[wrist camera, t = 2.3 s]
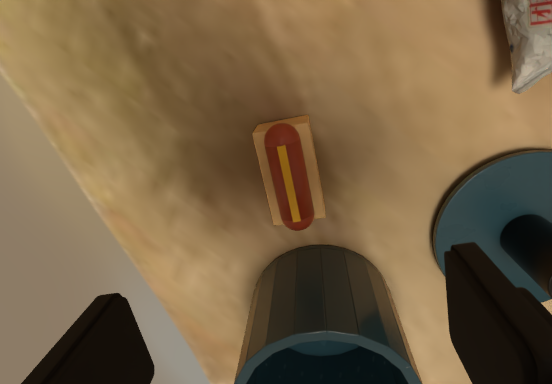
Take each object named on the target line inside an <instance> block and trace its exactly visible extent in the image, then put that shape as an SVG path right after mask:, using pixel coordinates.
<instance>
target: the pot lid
mask: <svg viewBox="0 0 552 384" xmlns="http://www.w3.org/2000/svg"><path fill="white" fill-rule="evenodd" d="M469 242H475V243H476V244H477V245H478V246H479V247H480V248H481V249H482V250H483V251H484V252H485V254H486V255H487V256H488V257H489V258H490V259H491V260H492V261H493V263H494V264H495V265H496V266H497V267H498V268H499V269H500V270H501V271H502V273H503V274H504V275H505V276H506V277H507V278H508V279H509V280H510V281H511V283H512V284H513V285H514V286H515V287H516V288H517V287H523V288H526V289H527V290H528V291H530V292H531V293H532V294H533V295H534V296H535V298H536V299H537V300H538V301H539V302H540V303H541V302H544V301H547V300H550V299H552V150H531V151H522V152H518V153H514V154H509V155H506V156H504V157H501V158H498V159H496V160H494V161H491V162H489V163H487V164H485V165H484V166H482V167H480V168H479V169H477V170H475V171H474V172H473V173H471V174H470V175H469V176H468V177H466V178H465V179H464V180H463V181H462V182H461V183H460V184H459V185H458V186H457V187H456V188H455V189H454V190H453V191H452V193H451V194H450V195H449V196H448V198H447V199H446V201H445V203H444V204H443V206H442V208H441V210H440V212H439V214H438V217H437V220H436V224H435V228H434V234H433V247H434V253H435V257H436V260H437V263H438V265H439V267H440V269H441V271H442V272H443V274H444V276H445V264H444V252H445V251H450V248H451V246H452V245H455V244H462V243H469Z"/></svg>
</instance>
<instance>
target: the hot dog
mask: <svg viewBox="0 0 552 384" xmlns="http://www.w3.org/2000/svg"><path fill="white" fill-rule="evenodd" d="M252 136H253V140H254V144H255V148H256V153H257V157H258V161H259V165H260V170H261V174H262V178H263V182H264V186H265V191H266V195H267V199H268V203H269V207H270V212H271V216H272V220H273V224H274V226H276V225H282V224H284V225H285V226H286V227H288V228H289V229H291V230H295V231H300V230H304V229H306V228H307V227H309V226H310V225H311V223H312V222H313V219H319V218H325V217H326V213H325V205H324V198H323V192H322V187H321V181H320V176H319V170H318V165H317V160H316V154H315V149H314V143H313V138H312V132H311V127H310V121H309V116H308V115H303V116H299V117H294V118H289V119H284V120H279V121H274V122H269V123H264V124H259V125H257V127H256V128H255V130H254V131H253V133H252Z"/></svg>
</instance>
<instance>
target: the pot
mask: <svg viewBox="0 0 552 384" xmlns="http://www.w3.org/2000/svg"><path fill="white" fill-rule="evenodd" d="M234 384H422V381H421V378H420V375H419V373H418V370H417V367H416V364H415V361H414V358H413V356H412V353H411V350H410V347H409V344H408V341H407V338H406V336H405V333H404V330H403V327H402V324H401V321H400V319H399V316H398V313H397V310H396V307H395V304H394V301H393V299H392V296H391V293H390V290H389V288H388V287H387V284H386V282H385V280H384V278H383V276H382V275H381V273H380V272H379V271H378V270H377V268H376V267H375V266H374V265H373V264H372V263H371V262H369V261H368V260H367V259H365V258H364V257H362V256H361V255H359V254H357V253H355V252H353V251H350V250H348V249H344V248H341V247H337V246H329V245H313V246H306V247H301V248H298V249H295V250H292V251H289V252H287V253H285V254H283V255H282V256H280V257H278V258H277V259H275V260H274V261H273V262H272V263H271V264H270V265H269V266H268V267H267V268H266V269H265V270H264V271H263V273H262V275H261V276H260V278H259V280H258V282H257V284H256V288H255V290H254V293H253V298H252V302H251V307H250V312H249V316H248V321H247V326H246V331H245V335H244V340H243V345H242V349H241V354H240V359H239V363H238V368H237V373H236V377H235V382H234Z"/></svg>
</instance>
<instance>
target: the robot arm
mask: <svg viewBox="0 0 552 384" xmlns="http://www.w3.org/2000/svg"><path fill="white" fill-rule="evenodd" d="M444 264H445V277H446V291H447V305H448V319H449V332H450V337H451V341H452V343H453V346H454V348H455V350H456V352H457V354H458V356H459V358H460V360H461V362H462V364H463V366H464V368H465V370H466V372H467V374H468V376H469V378H470V380H471V382H472V384H552V315H551V313H550V312H549V311H548V310H547V309H546V308H545V307H544V306H543V305H542V304H541V303H540V302H539V301H538V300H537V299H536V298H535V296H534V295H533V294H532V293H531V292H530V291H528V290H527V289H526V288H523V287H517V288H516V287H515V286H514V285H513V284H512V283H511V281H510V280H509V279H508V278H507V277H506V276H505V275H504V274H503V273H502V271H501V270H500V269H499V268H498V267H497V266H496V265H495V264H494V263H493V261H492V260H491V259H490V258H489V257H488V256H487V255H486V254H485V252H484V251H483V250H482V249H481V248H480V247H479V246H478V245H477V244H476V243H475V242H469V243H462V244H455V245H452V246H451V248H450V251H445V252H444ZM153 376H154V364H153V361H152V359H151V356H150V354H149V351H148V349H147V347H146V344H145V342H144V339H143V337H142V335H141V332H140V330H139V327H138V325H137V322H136V320H135V317H134V315H133V313H132V310H131V308H130V305H129V303H128V301H127V299H126V298H125V297H122V296H121V295H120V294H119V293H114V294H106V295H100V296H98V297H96V298H95V300H94V301H93V302H92V303H91V304H90V306H89V307H88V308H87V309H86V310H85V311H84V312H83V313H82V315H81V316H80V317H79V318H78V319H77V320H76V321H75V322H74V324H73V325H72V326H71V327H70V328H69V329H68V331H67V332H66V333H65V334H64V335H63V336H62V337H61V339H60V340H59V341H58V342H57V343H56V344H55V345H54V347H53V348H52V349H51V350H50V351H49V352H48V354H47V355H46V356H45V357H44V358H43V359H42V360H41V361H40V363H39V364H38V365H37V366H36V367H35V368H34V369H33V371H32V372H31V373H30V374H29V375H28V376H27V377H26V379H25V380H24V381H23V382H22V383H21V384H150V383H151V381H152V378H153Z"/></svg>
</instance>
